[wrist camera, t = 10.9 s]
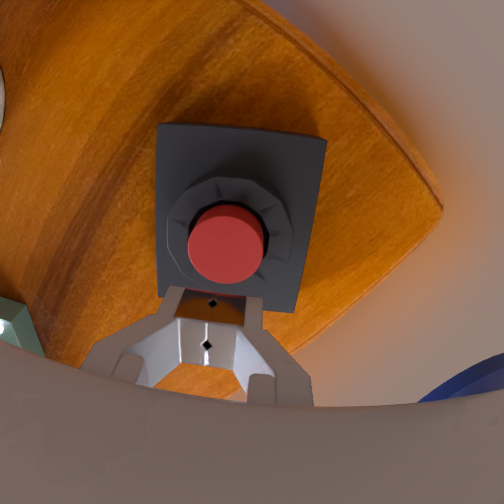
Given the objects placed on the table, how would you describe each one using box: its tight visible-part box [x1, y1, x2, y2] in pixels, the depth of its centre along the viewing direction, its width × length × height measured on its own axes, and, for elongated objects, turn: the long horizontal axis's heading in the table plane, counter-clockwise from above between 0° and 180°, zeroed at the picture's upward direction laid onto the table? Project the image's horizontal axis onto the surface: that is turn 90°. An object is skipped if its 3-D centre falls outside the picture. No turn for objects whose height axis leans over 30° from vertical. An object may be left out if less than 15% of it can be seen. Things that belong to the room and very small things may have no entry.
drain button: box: [188, 204, 263, 284], centre depth 15 cm, size 4×4×2 cm
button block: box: [155, 122, 327, 313], centre depth 18 cm, size 11×9×4 cm
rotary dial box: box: [0, 297, 46, 357], centre depth 26 cm, size 14×10×3 cm
